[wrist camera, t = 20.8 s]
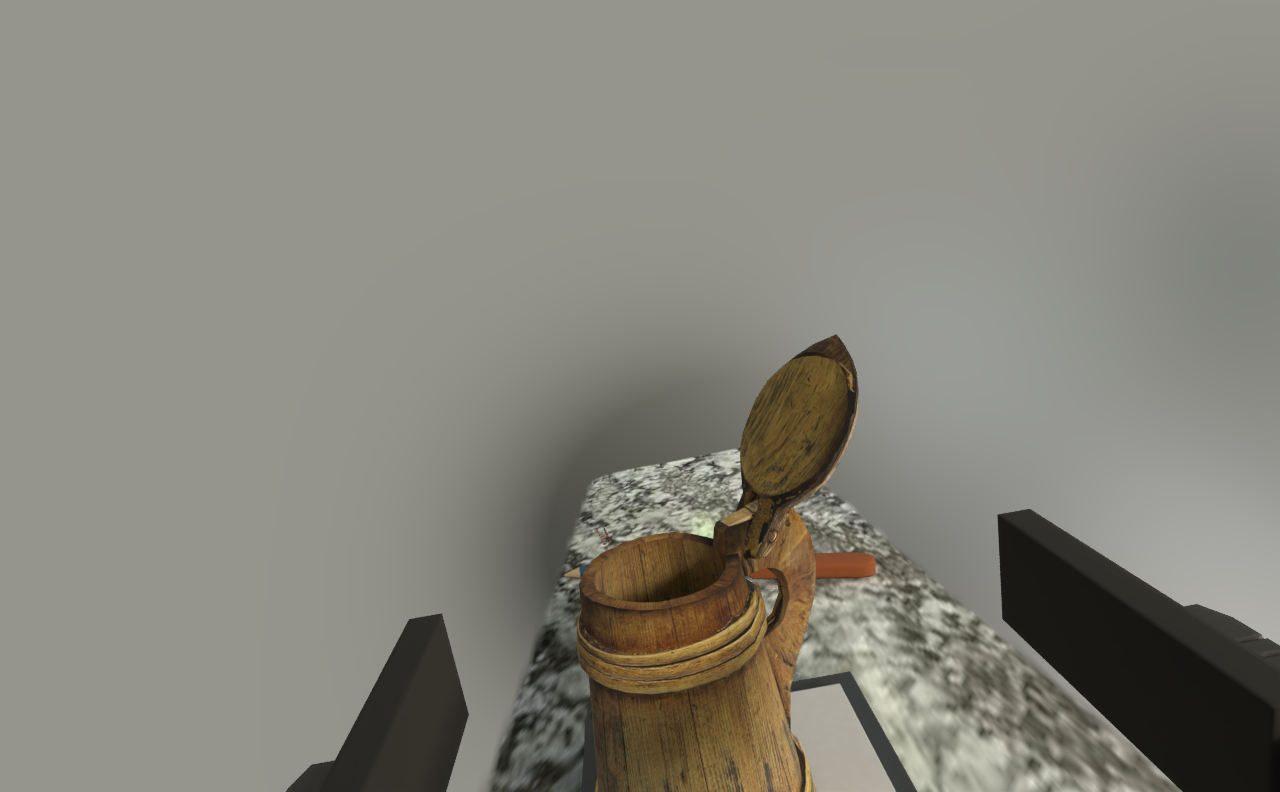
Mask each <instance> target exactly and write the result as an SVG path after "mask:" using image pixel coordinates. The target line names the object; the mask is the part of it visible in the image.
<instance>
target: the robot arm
mask: <svg viewBox="0 0 1280 792" xmlns="http://www.w3.org/2000/svg"><path fill="white" fill-rule="evenodd" d="M998 533H999V555H1000V576H1001V596H1002V618H1003V620H1004V621H1005V622H1006V623H1007V624H1008V625H1009V626H1010V627H1011V628H1013V629H1014V630H1015V631H1016V632H1017V633H1018V634H1019V635H1020V636H1021V637H1022V638H1023V639H1024V640H1025V641H1026V642H1027V643H1028V644H1029V645H1030V646H1031V647H1032V648H1033V649H1034V650H1036V652H1038V653H1039V654H1040V655H1041V656H1042V657H1043V658H1044V659H1045V660H1046V661H1047V662H1048V663H1049V664H1050V665H1051V666H1052V667H1053V668H1054V669H1055V670H1056V671H1057V672H1058V673H1059V674H1061V675H1062V676H1063V677H1064V678H1065V679H1066V680H1067V681H1068V682H1069V683H1070V684H1071V685H1072V686H1073V687H1074V688H1075V689H1076V690H1077V691H1078V692H1079V693H1080V694H1081V695H1082V696H1083V697H1085V698H1086V699H1087V700H1088V701H1089V702H1090V703H1091V704H1092V705H1093V706H1094V707H1095V708H1096V709H1097V710H1098V711H1099V712H1100V713H1101V714H1102V715H1103V716H1104V717H1105V718H1106V719H1107V720H1109V721H1110V722H1111V723H1112V724H1113V725H1114V726H1115V727H1116V728H1117V729H1118V730H1119V731H1120V732H1121V733H1122V734H1123V735H1124V736H1125V737H1126V738H1127V739H1128V740H1129V741H1130V742H1132V743H1133V744H1134V745H1135V746H1136V747H1137V748H1138V749H1139V750H1140V751H1141V752H1142V753H1143V754H1144V755H1145V756H1146V757H1147V758H1148V759H1149V760H1150V761H1151V762H1152V763H1153V764H1154V765H1156V766H1157V767H1158V768H1159V769H1160V770H1161V771H1162V772H1163V773H1164V774H1165V775H1166V776H1167V777H1168V778H1169V779H1170V780H1171V781H1172V782H1173V783H1174V784H1175V785H1176V786H1177V787H1179V788H1180V789H1181V790H1182V791H1183V792H1280V646H1279V645H1278V644H1276V643H1274V642H1273V641H1271V640H1269V639H1268V638H1267V639H1264V638H1263V637H1262V635H1261V634H1260V633H1258V632H1256V631H1255V630H1253V629H1251V628H1249V627H1248V626H1246V625H1245V624H1243V623H1241V622H1239V621H1238V620H1236V619H1234V618H1233V617H1230V616H1228V615H1225V614H1222V613H1219V612H1217V611H1214V610H1211V609H1208V608H1206V607H1203V606H1200V605H1198V604H1195V605H1190V606H1185V607H1183V606H1182V605H1180V604H1179V603H1177V602H1175V601H1174V600H1172V599H1171V598H1169V597H1167V596H1166V595H1165V594H1163V593H1161V592H1160V591H1158V590H1157V589H1155V588H1154V587H1152V586H1150V585H1149V584H1147V583H1146V582H1144V581H1142V580H1141V579H1139V578H1138V577H1136V576H1134V575H1133V574H1131V573H1130V572H1128V571H1127V570H1125V569H1124V568H1122V567H1120V566H1119V565H1117V564H1116V563H1114V562H1113V561H1111V560H1109V559H1108V558H1106V557H1105V556H1103V555H1102V554H1100V553H1098V552H1096V551H1095V550H1094V549H1092V548H1090V547H1089V546H1087V545H1085V544H1084V543H1083V542H1081V541H1079V540H1078V539H1076V538H1075V537H1073V536H1071V535H1070V534H1068V533H1067V532H1065V531H1064V530H1062V529H1061V528H1059V527H1057V526H1056V525H1054V524H1053V523H1051V522H1049V521H1048V520H1046V519H1045V518H1043V517H1041V516H1040V515H1039V514H1037V513H1035V512H1034V511H1032V510H1031V509H1027V510H1021V511H1016V512H1010V513H1005V514H999V515H998ZM468 715H469V714H468V710H467V706H466V703H465V699H464V695H463V691H462V688H461V684H460V680H459V676H458V672H457V669H456V665H455V661H454V658H453V654H452V650H451V646H450V642H449V639H448V635H447V632H446V628H445V624H444V620H443V616H442V614H436V615H431V616H425V617H420V618H414V619H409V621H408V623H407V624H406V626H405V628H404V630H403V632H402V634H401V636H400V638H399V640H398V642H397V643H396V646H395V647H394V649H393V651H392V653H391V655H390V657H389V659H388V661H387V663H386V664H385V666H384V668H383V670H382V672H381V674H380V676H379V678H378V680H377V682H376V684H375V685H374V687H373V689H372V691H371V693H370V695H369V697H368V699H367V701H366V702H365V704H364V706H363V708H362V710H361V712H360V714H359V716H358V718H357V720H356V721H355V724H354V725H353V727H352V729H351V731H350V733H349V735H348V737H347V739H346V740H345V743H344V745H343V746H342V748H341V750H340V752H339V754H338V756H337V758H336V760H335V761H330V762H325V763H319V764H313V765H311V766H310V767H309V768H308V769H307V770H306V771H305V772H304V773H303V774H302V775H301V776H300V777H299V778H298V779H297V780H296V781H295V782H294V783H293V784H292V785H291V786H290V787H289V788H288V789H287V791H286V792H446V790H447V787H448V783H449V780H450V776H451V773H452V770H453V766H454V763H455V759H456V756H457V753H458V749H459V746H460V742H461V739H462V736H463V732H464V729H465V725H466V722H467V719H468Z"/></svg>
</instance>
